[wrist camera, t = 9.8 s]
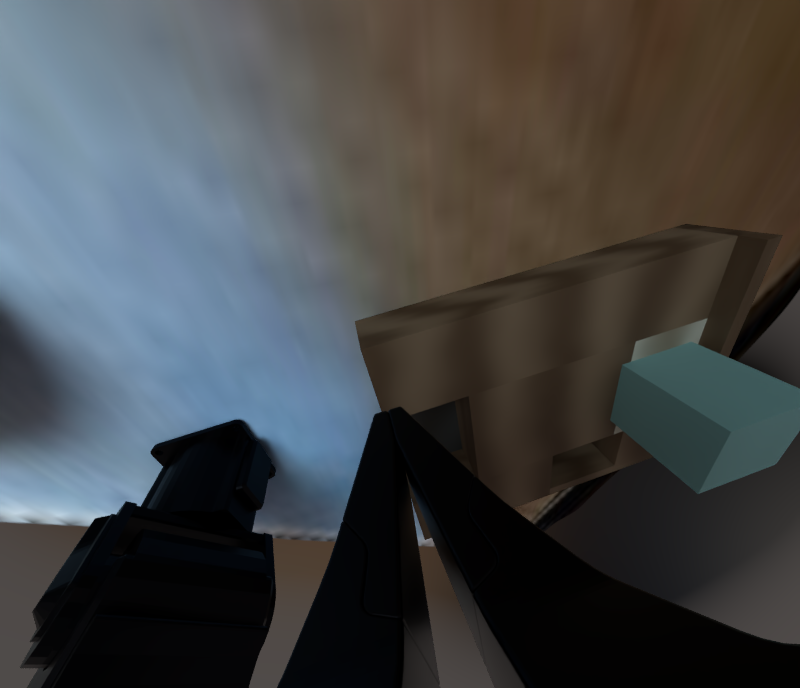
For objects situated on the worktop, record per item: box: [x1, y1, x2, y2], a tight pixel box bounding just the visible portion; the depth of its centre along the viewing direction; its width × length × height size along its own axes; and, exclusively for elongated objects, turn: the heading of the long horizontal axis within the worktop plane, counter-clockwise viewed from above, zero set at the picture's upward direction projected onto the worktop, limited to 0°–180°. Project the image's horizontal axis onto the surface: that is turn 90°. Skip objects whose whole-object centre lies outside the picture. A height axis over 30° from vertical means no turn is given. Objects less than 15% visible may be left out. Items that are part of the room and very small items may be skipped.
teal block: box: [610, 342, 800, 494], centre depth 21 cm, size 6×6×7 cm
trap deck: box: [355, 224, 782, 540], centre depth 25 cm, size 26×22×6 cm
